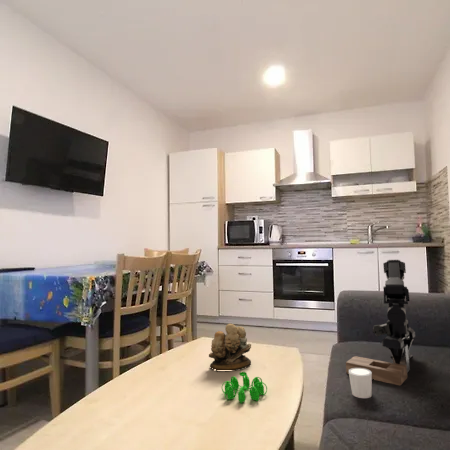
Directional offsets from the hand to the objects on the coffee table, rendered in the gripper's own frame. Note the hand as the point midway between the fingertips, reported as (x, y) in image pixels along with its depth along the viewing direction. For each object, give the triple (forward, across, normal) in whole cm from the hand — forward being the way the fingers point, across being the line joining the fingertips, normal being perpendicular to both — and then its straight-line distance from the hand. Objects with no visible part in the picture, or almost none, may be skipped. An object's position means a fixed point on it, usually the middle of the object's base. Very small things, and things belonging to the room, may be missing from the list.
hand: (400, 361), depth 124 cm
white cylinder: (+3, +27, -4) cm, 27 cm away
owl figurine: (+3, +31, -55) cm, 63 cm away
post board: (+3, +10, -6) cm, 12 cm away
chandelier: (+4, +48, -34) cm, 59 cm away
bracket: (+3, 0, 0) cm, 3 cm away
